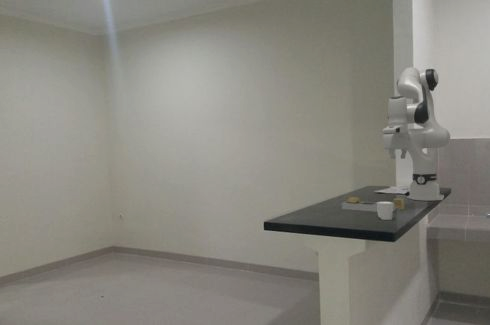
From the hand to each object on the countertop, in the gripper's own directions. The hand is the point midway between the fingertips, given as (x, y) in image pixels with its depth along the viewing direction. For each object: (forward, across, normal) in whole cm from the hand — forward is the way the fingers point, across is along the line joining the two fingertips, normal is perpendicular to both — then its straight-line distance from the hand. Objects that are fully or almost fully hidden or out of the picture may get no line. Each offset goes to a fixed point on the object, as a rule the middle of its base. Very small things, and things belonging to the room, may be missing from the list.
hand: (398, 158), depth 194 cm
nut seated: (+24, +14, -16) cm, 32 cm away
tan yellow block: (+24, 0, 0) cm, 24 cm away
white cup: (+25, +24, +7) cm, 36 cm away
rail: (+24, +13, -9) cm, 29 cm away
